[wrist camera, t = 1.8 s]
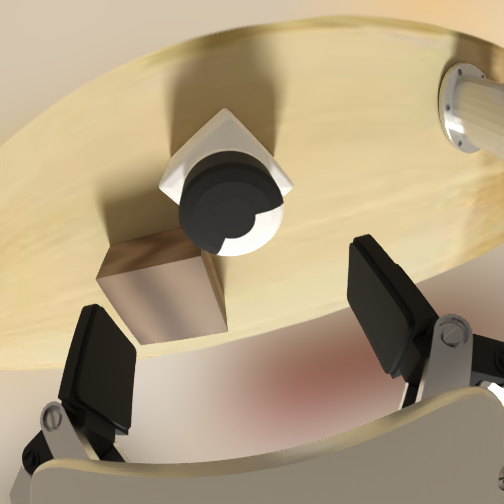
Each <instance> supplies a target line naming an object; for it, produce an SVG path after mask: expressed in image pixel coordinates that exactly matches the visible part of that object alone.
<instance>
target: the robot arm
mask: <svg viewBox="0 0 504 504" xmlns="http://www.w3.org/2000/svg"><path fill="white" fill-rule="evenodd" d="M439 114H440V120H441V124H442V128H443V130H444V133H445V135H446V137H447V139H448V141H449V142H450V143H451V144H452V145H453V146H454V147H455V148H456V149H458V150H460V151H462V152H465V153H474V152H476V151H478V150H480V149H482V150H484V151H486V152H487V153H489V154H491V155H493V156H495V157H497V158H498V159H500V160H502V161H503V162H504V83H500V82H497V81H493V80H490V79H487V78H486V76H485V75H484V73H483V72H482V71H481V70H480V69H479V68H477V67H476V66H474V65H472V64H469V63H457V64H455V65H453V66H452V67H451V68H449V70H448V71H447V72H446V74H445V76H444V78H443V80H442V84H441V88H440V94H439ZM347 299H348V302H349V305H350V306H351V308H352V310H353V312H354V314H355V315H356V317H357V319H358V321H359V323H360V325H361V327H362V329H363V330H364V332H365V334H366V336H367V338H368V340H369V342H370V344H371V346H372V348H373V350H374V351H375V353H376V356H377V357H378V360H379V362H380V363H381V366H382V368H383V370H384V371H385V373H387V374H388V373H390V375H391V377H392V379H394V378H396V377H398V376H400V375H402V376H403V378H404V380H405V382H406V385H405V390H404V393H403V396H402V400H401V403H400V406H399V409H398V411H396V412H394V413H392V414H390V415H388V416H385V417H383V418H380V419H378V420H375V421H373V422H371V423H368V424H365V425H363V426H360V427H357V428H355V429H352V430H349V431H347V432H344V433H341V434H338V435H335V436H332V437H329V438H325V439H322V440H319V441H316V442H312V443H308V444H305V445H301V446H298V447H293V448H289V449H285V450H280V451H276V452H271V453H266V454H261V455H256V456H249V457H243V458H236V459H229V460H221V461H211V462H198V463H179V464H140V463H132V462H131V460H130V459H129V458H128V456H127V455H126V454H125V452H124V451H123V450H122V448H121V447H120V445H119V444H118V443H117V441H116V440H115V434H117V435H128V429H129V428H130V427H131V415H132V397H133V385H134V374H135V364H136V354H137V353H136V349H135V347H134V345H133V344H132V343H131V342H130V341H129V340H128V338H127V337H126V336H125V335H124V334H123V332H122V331H121V330H120V329H119V327H118V326H117V325H116V324H115V322H114V321H113V320H112V318H111V317H110V316H109V315H108V313H107V312H106V311H105V309H104V308H103V307H100V306H99V305H98V304H92V305H88V306H84V307H83V309H82V311H81V314H80V317H79V320H78V323H77V326H76V329H75V332H74V336H73V339H72V342H71V346H70V349H69V353H68V357H67V360H66V364H65V368H64V373H63V377H62V381H61V385H60V390H59V395H58V398H59V399H60V400H61V401H62V403H61V404H60V403H58V402H55V401H54V402H50V403H49V404H47V405H46V406H45V407H44V409H43V411H42V413H41V417H40V424H41V428H42V430H41V431H40V432H39V433H38V434H37V435H36V436H35V437H34V438H33V439H32V440H31V442H30V443H29V444H28V445H27V446H26V447H25V449H24V451H23V454H22V461H23V466H24V467H23V466H21V469H20V471H19V473H18V475H17V478H16V480H15V482H14V484H13V487H12V489H11V493H10V499H11V502H12V504H504V342H501V341H498V340H494V339H491V338H487V337H484V336H480V335H476V334H473V333H472V329H471V327H470V325H469V323H468V322H467V321H466V320H465V319H464V318H463V317H461V316H459V315H456V314H447V315H443V316H442V317H440V318H439V316H438V315H437V314H436V312H435V311H434V309H433V308H432V307H431V305H430V304H429V303H428V301H427V300H426V298H425V297H424V296H423V294H422V293H421V292H420V291H419V289H418V288H417V287H416V285H415V284H414V283H413V282H412V280H411V279H410V278H409V276H408V275H407V274H406V273H405V272H404V270H403V269H402V268H401V267H400V266H399V265H398V264H396V263H394V262H393V260H392V259H391V258H390V257H389V256H388V254H387V253H386V252H385V251H384V250H383V248H382V247H381V246H380V245H379V244H378V243H377V242H376V240H375V239H374V238H373V237H372V236H371V235H370V234H367V235H363V236H359V237H356V238H354V240H353V243H350V246H349V269H348V287H347Z"/></svg>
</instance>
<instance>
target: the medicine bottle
mask: <svg viewBox="0 0 504 504" xmlns="http://www.w3.org/2000/svg"><path fill="white" fill-rule="evenodd" d="M159 188H160V190H161V191H163V192H164V193H165V194H166V195H167V196H169V197H170V198H171V199H172V200H173V201H175V202H176V203H177V204H178V205H179V220H180V224H181V227H182V229H183V231H184V233H185V234H186V236H187V237H188V238H189V239H190V241H191V242H192V243H194V244H195V245H196V246H197V247H199V248H201V249H202V250H204V251H206V252H209V253H212V254H215V255H221V256H237V255H242V254H246V253H249V252H251V251H254V250H256V249H258V248H259V247H261V246H262V245H264V244H265V243H266V242H268V241H269V240H270V239H271V238H272V236H273V235H274V234H275V233H276V231H277V229H278V228H279V226H280V223H281V221H282V217H283V211H284V202H283V196H284V195H285V194H286V193H288V192H289V191H290V190H291V189H292V188H293V183H292V181H291V180H290V178H289V177H288V176H287V174H286V173H285V172H284V171H283V169H282V168H281V167H280V165H279V164H278V163H277V161H276V160H275V159H274V158H273V156H272V155H271V154H270V153H269V152H268V151H267V150H266V149H265V148H264V146H263V145H262V144H261V143H260V142H259V141H258V140H257V139H256V138H255V137H254V136H253V135H252V133H251V132H250V131H249V130H248V129H247V128H246V127H245V126H244V125H243V124H242V123H241V122H240V121H239V120H238V119H237V118H236V117H235V116H234V115H233V114H232V113H231V112H230V111H229V110H228V109H227V108H223V109H221V110H220V111H219V112H218V113H217V114H216V115H215V116H214V117H212V118H211V119H210V120H209V121H208V122H207V123H206V124H205V125H204V126H203V127H202V128H201V129H199V130H198V131H197V132H196V133H195V134H194V135H193V136H192V137H191V138H190V139H189V140H188V141H187V142H186V143H185V144H184V145H183V146H182V147H181V148H180V149H179V150H178V151H177V152H176V153H175V154H174V155H173V156H172V157H171V159H170V161H169V163H168V165H167V167H166V169H165V172H164V174H163V176H162V178H161V181H160V183H159Z"/></svg>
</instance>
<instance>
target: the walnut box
mask: <svg viewBox="0 0 504 504" xmlns="http://www.w3.org/2000/svg"><path fill="white" fill-rule="evenodd" d="M96 281H97V282H98V284H99V285H100V287H101V289H102V290H103V292H104V293H105V295H106V296H107V298H108V300H109V301H110V303H111V304H112V306H113V307H114V309H115V310H116V311H117V313H118V314H119V316H120V317H121V319H122V320H123V322H124V323H125V324H126V326H127V327H128V328H129V330H130V331H131V333H132V334H133V335H134V337H135V338H136V339H137V341H138V342H139V343H140V345H146V344H154V343H161V342H168V341H175V340H182V339H188V338H194V337H200V336H206V335H212V334H218V333H223V332H228V327H227V318H226V308H225V298H224V294H223V291H222V288H221V284H220V281H219V278H218V275H217V272H216V269H215V265H214V262H213V259H212V256H211V253H209V252H206V251H204V250H202V249H201V248H199V247H197V246H196V245H195V244H194V243H192V242H191V241H190V239H189V238H188V237H187V236H186V234H185V233H184V231H183V229H182V228H179V229H174V230H170V231H166V232H162V233H158V234H154V235H150V236H146V237H142V238H138V239H134V240H130V241H126V242H122V243H119V244H115V245H111V246H110V247H109V250H108V252H107V254H106V256H105V258H104V261H103V263H102V265H101V268H100V270H99V272H98V275H97V277H96Z"/></svg>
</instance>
